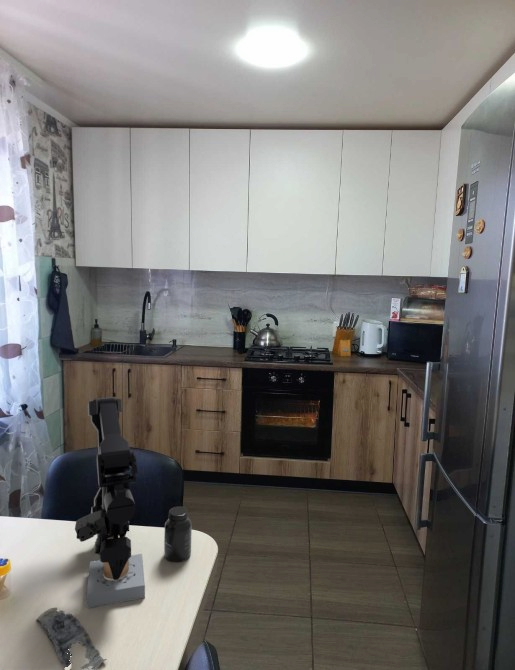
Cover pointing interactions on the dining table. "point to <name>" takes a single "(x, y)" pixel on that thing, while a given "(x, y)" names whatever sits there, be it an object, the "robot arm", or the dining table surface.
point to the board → (115, 584)
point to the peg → (108, 573)
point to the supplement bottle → (177, 535)
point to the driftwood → (68, 636)
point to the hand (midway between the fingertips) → (116, 566)
